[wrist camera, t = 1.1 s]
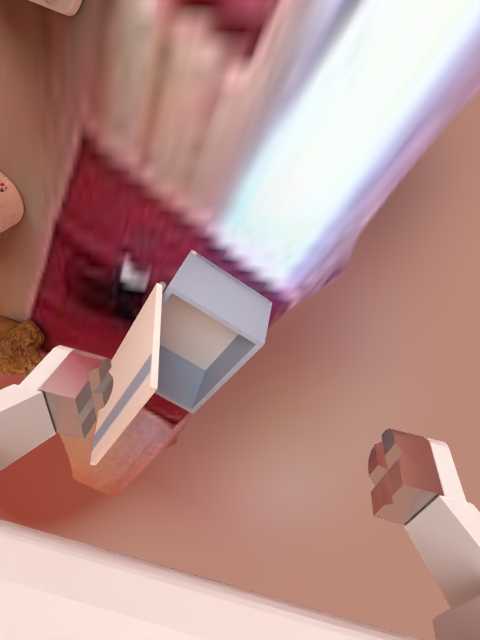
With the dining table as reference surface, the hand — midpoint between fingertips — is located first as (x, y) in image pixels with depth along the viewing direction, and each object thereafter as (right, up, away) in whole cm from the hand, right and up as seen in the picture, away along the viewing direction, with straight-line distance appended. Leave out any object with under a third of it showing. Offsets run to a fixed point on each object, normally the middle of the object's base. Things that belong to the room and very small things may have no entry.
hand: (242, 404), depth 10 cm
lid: (-13, -4, +32) cm, 35 cm away
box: (-6, +3, +46) cm, 46 cm away
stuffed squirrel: (-41, 0, +56) cm, 69 cm away
